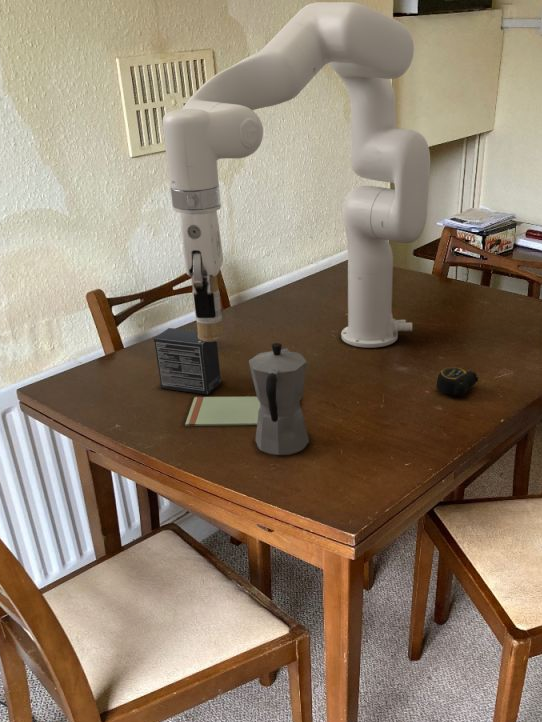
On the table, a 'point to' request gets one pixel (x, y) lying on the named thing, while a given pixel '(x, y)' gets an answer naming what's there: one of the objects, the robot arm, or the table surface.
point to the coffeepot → (279, 400)
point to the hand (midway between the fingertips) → (208, 310)
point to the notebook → (223, 411)
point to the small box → (187, 361)
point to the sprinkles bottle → (210, 326)
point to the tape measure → (455, 381)
